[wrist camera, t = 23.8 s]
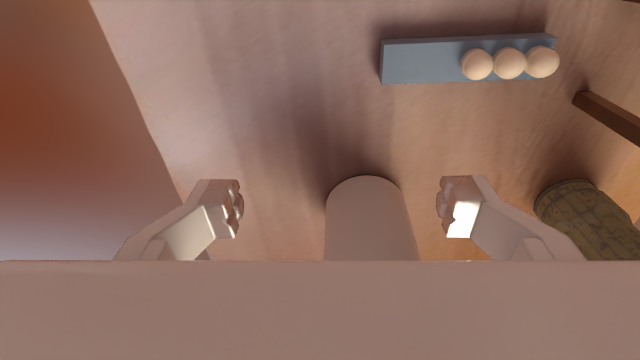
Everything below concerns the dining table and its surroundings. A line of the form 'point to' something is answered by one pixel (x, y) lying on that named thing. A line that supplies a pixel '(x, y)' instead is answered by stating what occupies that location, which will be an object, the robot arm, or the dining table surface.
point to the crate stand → (610, 113)
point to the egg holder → (468, 58)
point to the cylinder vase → (368, 222)
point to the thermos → (589, 221)
